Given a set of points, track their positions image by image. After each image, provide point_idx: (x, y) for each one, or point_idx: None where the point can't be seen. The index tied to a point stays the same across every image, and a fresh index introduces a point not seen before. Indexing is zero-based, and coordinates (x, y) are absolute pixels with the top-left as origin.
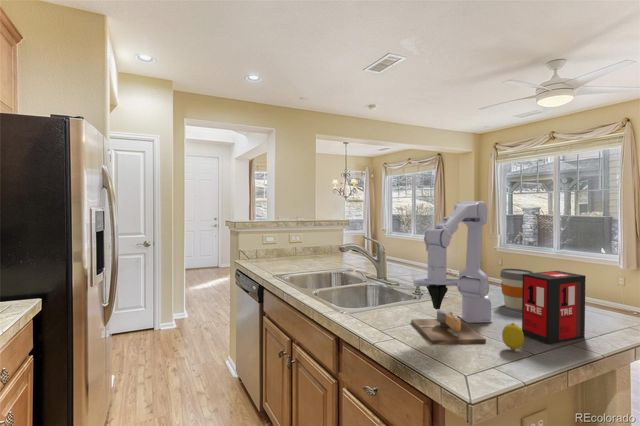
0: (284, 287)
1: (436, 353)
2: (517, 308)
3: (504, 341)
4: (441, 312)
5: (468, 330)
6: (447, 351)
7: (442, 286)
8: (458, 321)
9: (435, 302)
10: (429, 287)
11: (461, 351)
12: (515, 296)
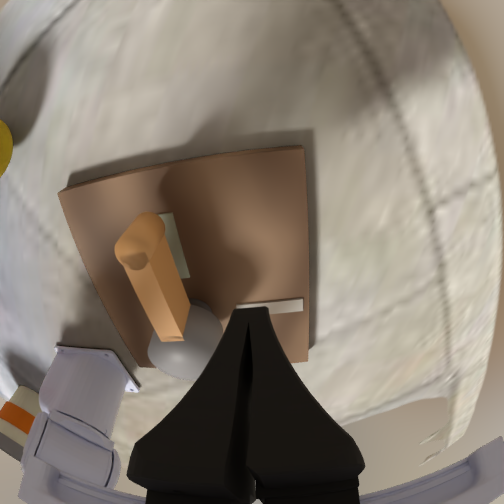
0: (460, 433)
1: (309, 44)
2: (31, 391)
3: (6, 136)
4: (199, 359)
5: (107, 275)
6: (248, 65)
7: (188, 501)
8: (127, 241)
9: (278, 344)
10: (355, 483)
11: (180, 74)
12: (24, 411)
